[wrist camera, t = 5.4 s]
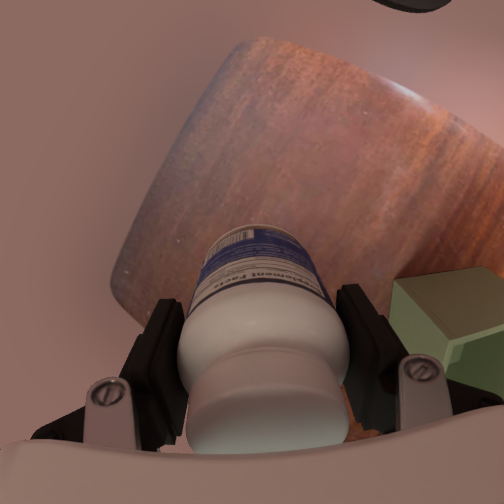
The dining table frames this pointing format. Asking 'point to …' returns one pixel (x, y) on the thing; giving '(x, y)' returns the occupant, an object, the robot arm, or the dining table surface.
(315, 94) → the dining table surface
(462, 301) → the chest
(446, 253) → the dining table surface
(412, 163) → the dining table surface
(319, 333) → the pill bottle
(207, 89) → the dining table surface
